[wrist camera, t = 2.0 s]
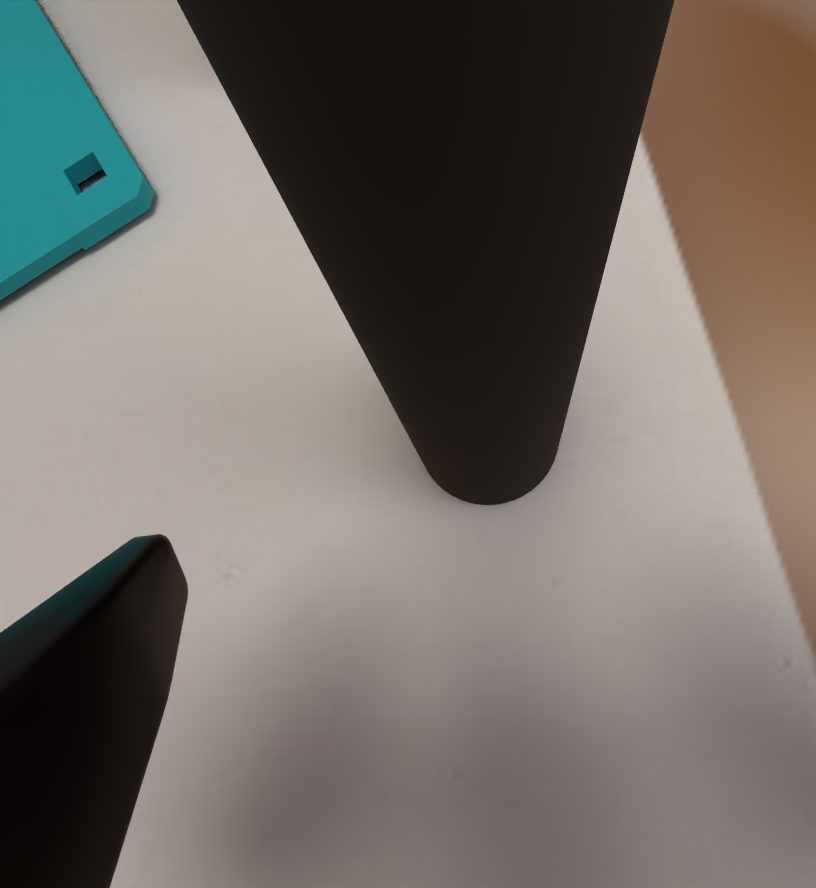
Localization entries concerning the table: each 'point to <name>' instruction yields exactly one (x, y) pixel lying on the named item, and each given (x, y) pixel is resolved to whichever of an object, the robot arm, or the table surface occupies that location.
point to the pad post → (451, 194)
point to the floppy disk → (54, 153)
